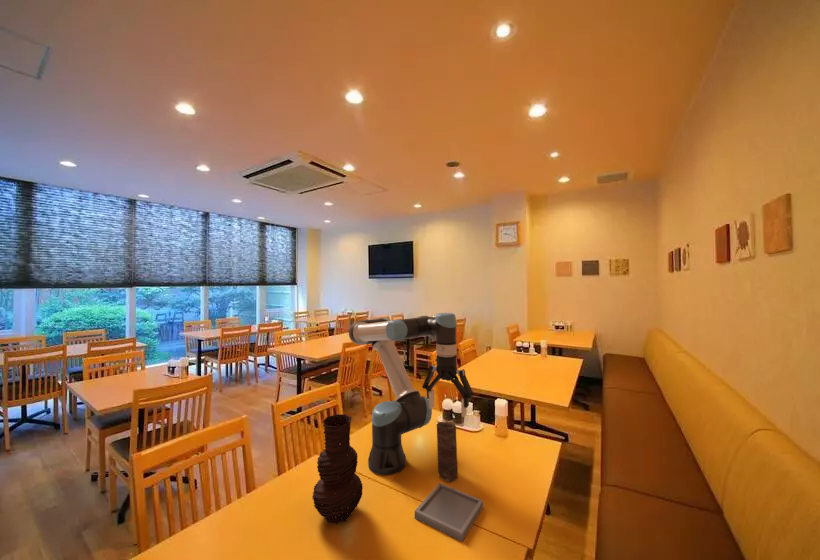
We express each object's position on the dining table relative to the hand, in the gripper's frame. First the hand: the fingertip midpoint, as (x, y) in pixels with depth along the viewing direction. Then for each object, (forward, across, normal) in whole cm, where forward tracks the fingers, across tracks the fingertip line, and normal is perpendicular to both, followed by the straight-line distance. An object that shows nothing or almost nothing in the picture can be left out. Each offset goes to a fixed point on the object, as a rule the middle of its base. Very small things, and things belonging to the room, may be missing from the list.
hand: (447, 411), depth 118 cm
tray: (+24, +9, -16) cm, 30 cm away
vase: (+25, -20, -36) cm, 48 cm away
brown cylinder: (+25, 0, 0) cm, 25 cm away
